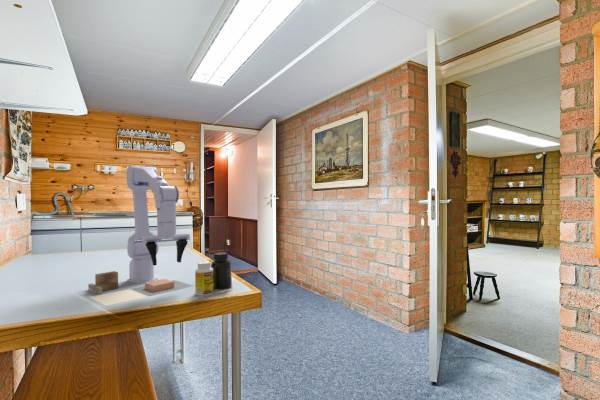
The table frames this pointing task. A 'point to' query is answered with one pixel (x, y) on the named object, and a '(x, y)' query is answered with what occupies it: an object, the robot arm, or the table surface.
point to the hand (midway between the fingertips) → (167, 263)
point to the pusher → (104, 282)
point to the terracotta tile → (159, 285)
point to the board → (134, 294)
